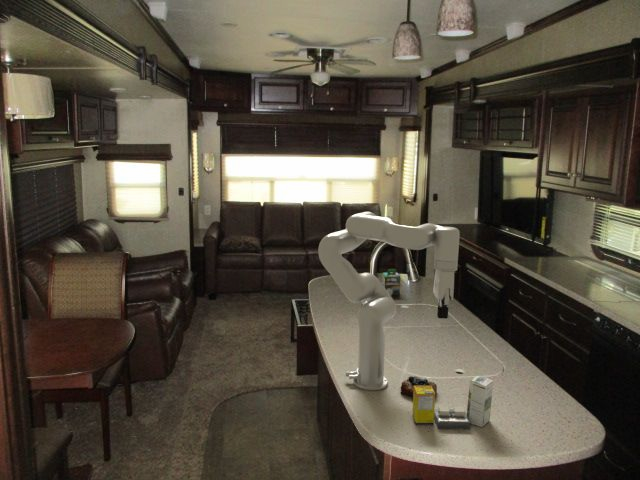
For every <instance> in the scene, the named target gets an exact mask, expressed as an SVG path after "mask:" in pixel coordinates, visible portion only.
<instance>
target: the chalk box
mask: <svg viewBox="0 0 640 480" xmlns="http://www.w3.org/2000/svg"><path fill="white" fill-rule="evenodd" d="M381 277H382V278H381V284H382V285H383V286H384V288H386V290H387V292H388V293H389V295H390V296H391V297H393V296H395V297H396V296H397V297H398V296H401V275H400V274H399V273H398V272H397V269H395V268H390V269H387V272H382V275H381Z"/></svg>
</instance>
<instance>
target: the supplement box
mask: <svg viewBox="0 0 640 480" xmlns="http://www.w3.org/2000/svg"><path fill="white" fill-rule="evenodd" d="M435 405H436V395H435V392H434V390H433V388H432V386H414V392H413V398H412V411H411V412H412V418H413V421H414V424H415V425H416V426H418V425H419V426H420V425H421V426H424V425H425V426H426V425H430V426H431V425H432V426H433V425H434V423H435V419H434V409H436V408H435Z"/></svg>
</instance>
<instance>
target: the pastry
mask: <svg viewBox="0 0 640 480" xmlns="http://www.w3.org/2000/svg"><path fill="white" fill-rule="evenodd" d="M414 386H432V388H433V390H434V392H435V396H436V395H437V391H438V386H437V383H435V382H434V381H430V380H428V379H426V378H421V377H418V376H416V375H414V376H411V375H410V376H409V377H408V378H407V379H405V380H404V381H402V382H401V386H400V395H403V396H405V397H408V398H410V399H413V392H414Z"/></svg>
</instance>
